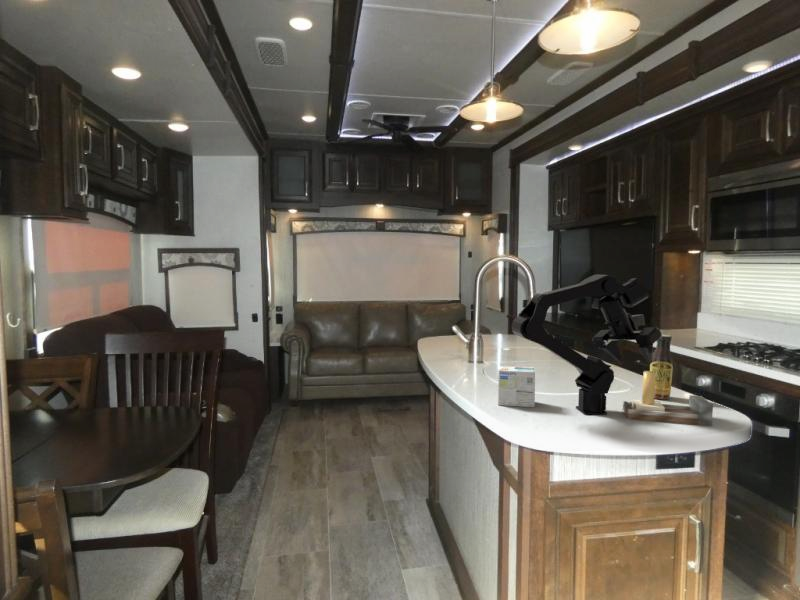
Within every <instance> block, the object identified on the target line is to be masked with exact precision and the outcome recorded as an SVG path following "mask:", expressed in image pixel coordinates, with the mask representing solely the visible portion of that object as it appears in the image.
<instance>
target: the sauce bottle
mask: <svg viewBox="0 0 800 600" xmlns="http://www.w3.org/2000/svg"><path fill="white" fill-rule="evenodd" d="M661 334H662V333H661ZM671 341H672V335H670V334H662V336H661V337H660V338H659V339H658V340H657V341H656V348H655V349H654V351H652V363H651V364H649V371H652V372H655V373H656V374H655V396H654V400H655V399H657V400H668V399H670V397H671V393H672V381H673V372H674V371H673V370H674V369H673V367H674V365H673V364H674V355H673V354H672V351H671Z"/></svg>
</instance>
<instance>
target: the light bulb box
mask: <svg viewBox="0 0 800 600" xmlns="http://www.w3.org/2000/svg"><path fill="white" fill-rule="evenodd" d="M535 371H536V370H535V367H531V366H530V367H529V366H528V367H527V366H526V367H525V366H504V365H499V367H498V377H497V378H498V379H497V380H498V383H497V385H498V386H497V391H498V393H497V394H498V395H497V396H498V397H497V399H498V400H497V401H498V404H497V405H498V406H508V407H509V406H510V407H519V408H520V407H522V408H535V401H536V397H535V396H536V372H535Z"/></svg>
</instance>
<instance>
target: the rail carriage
mask: <svg viewBox="0 0 800 600" xmlns="http://www.w3.org/2000/svg"><path fill="white" fill-rule="evenodd" d="M642 373H643V374H642V392H641V393H642V395H641V396H642V397H641V399H631V402H632V407H633V408H634V409H636V410H649V411H662V412H665V407H664V406H663V405H662V404H663V403H662V402H661V401H659V400H658V401H657V400H655V398H654V396H655V374H656V373H655V372H652V371H650V370H643V372H642Z"/></svg>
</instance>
